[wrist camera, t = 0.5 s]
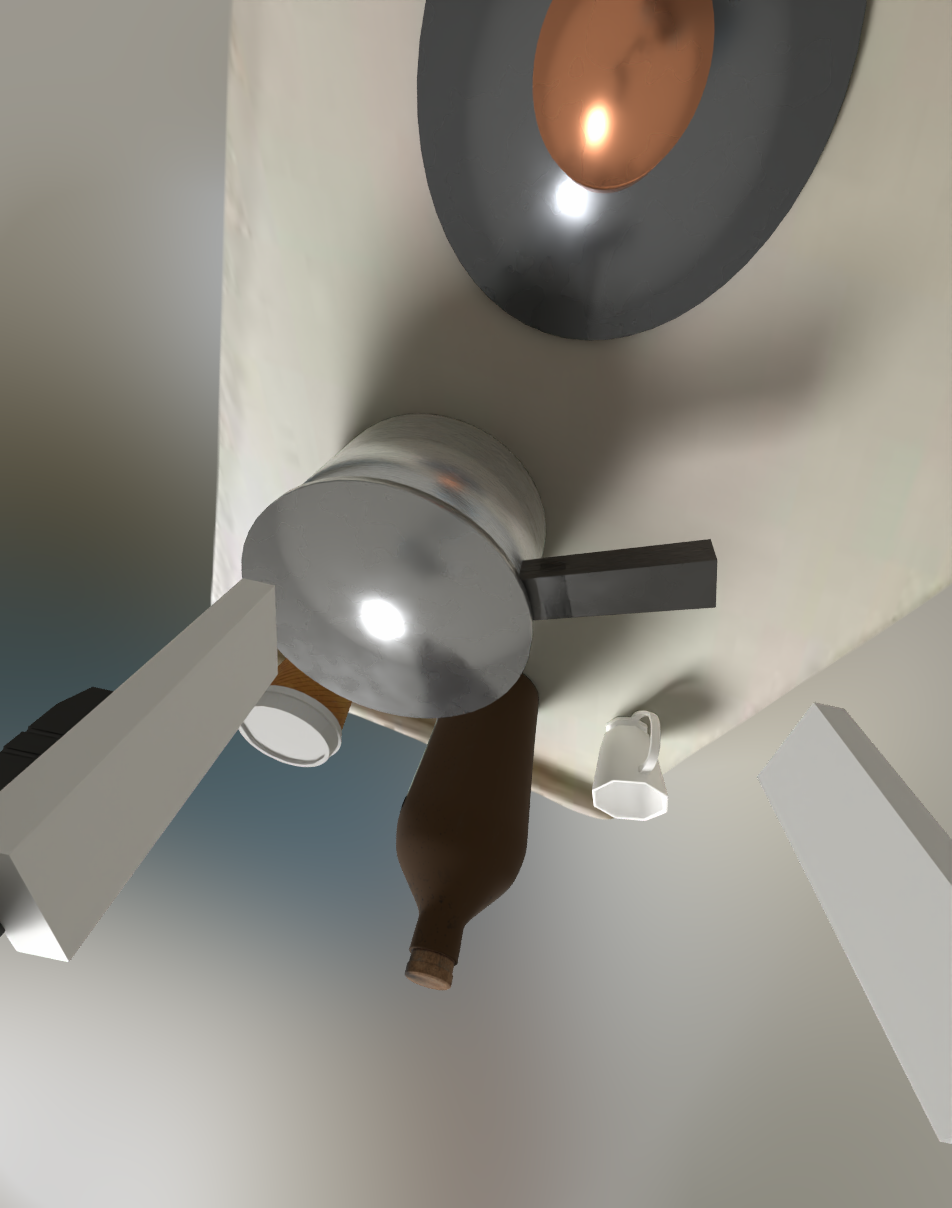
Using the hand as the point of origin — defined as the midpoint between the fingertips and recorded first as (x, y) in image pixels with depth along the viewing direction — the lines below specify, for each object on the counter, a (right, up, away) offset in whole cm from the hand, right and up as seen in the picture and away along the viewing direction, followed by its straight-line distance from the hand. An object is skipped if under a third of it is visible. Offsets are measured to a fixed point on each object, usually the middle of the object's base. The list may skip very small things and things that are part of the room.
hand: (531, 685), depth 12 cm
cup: (+15, -10, +37) cm, 41 cm away
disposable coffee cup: (-16, -2, +39) cm, 42 cm away
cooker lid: (+5, +25, +11) cm, 28 cm away
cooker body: (0, +9, +25) cm, 27 cm away
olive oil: (+1, -7, +38) cm, 39 cm away
